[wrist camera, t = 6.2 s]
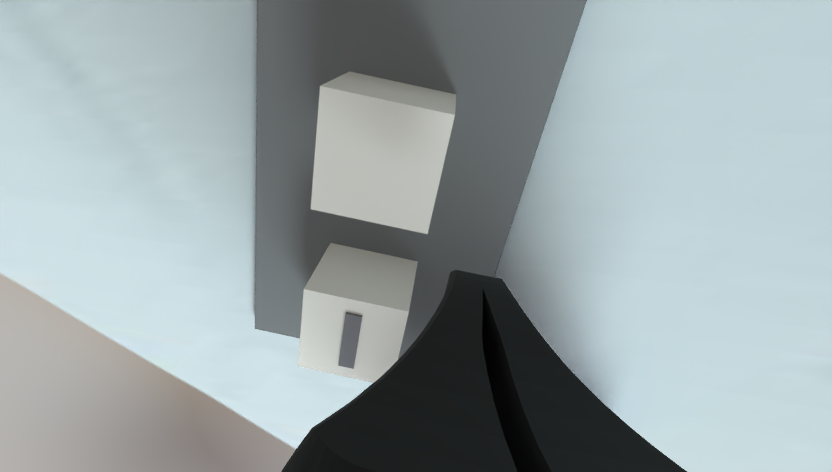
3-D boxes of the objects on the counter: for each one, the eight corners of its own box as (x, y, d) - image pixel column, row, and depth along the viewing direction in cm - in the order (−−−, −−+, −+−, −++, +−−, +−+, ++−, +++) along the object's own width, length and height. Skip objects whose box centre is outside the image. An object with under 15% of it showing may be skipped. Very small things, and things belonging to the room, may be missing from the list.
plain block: (456, 94, 17) (454, 114, 13) (433, 193, 19) (427, 234, 15) (349, 71, 17) (320, 86, 13) (338, 173, 19) (310, 209, 15)
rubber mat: (461, 365, 24) (461, 372, 24) (259, 321, 24) (254, 328, 24) (659, -232, 13) (668, -243, 12) (268, -318, 13) (260, -333, 12)
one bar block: (417, 261, 21) (408, 313, 17) (402, 328, 23) (391, 388, 19) (330, 242, 21) (302, 290, 17) (323, 312, 23) (297, 368, 19)
